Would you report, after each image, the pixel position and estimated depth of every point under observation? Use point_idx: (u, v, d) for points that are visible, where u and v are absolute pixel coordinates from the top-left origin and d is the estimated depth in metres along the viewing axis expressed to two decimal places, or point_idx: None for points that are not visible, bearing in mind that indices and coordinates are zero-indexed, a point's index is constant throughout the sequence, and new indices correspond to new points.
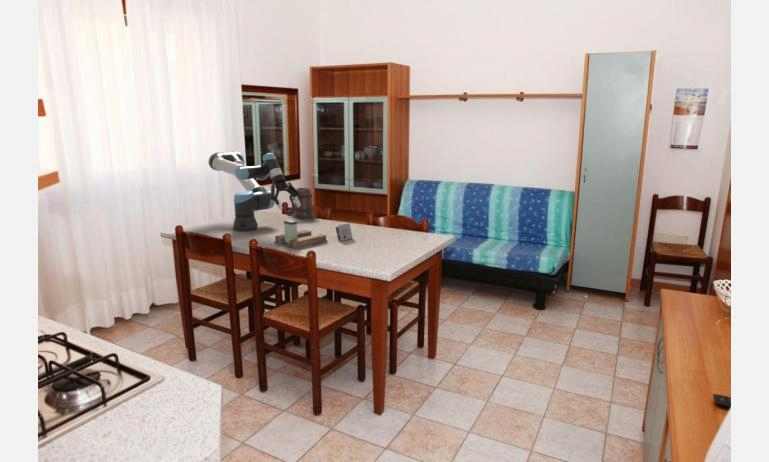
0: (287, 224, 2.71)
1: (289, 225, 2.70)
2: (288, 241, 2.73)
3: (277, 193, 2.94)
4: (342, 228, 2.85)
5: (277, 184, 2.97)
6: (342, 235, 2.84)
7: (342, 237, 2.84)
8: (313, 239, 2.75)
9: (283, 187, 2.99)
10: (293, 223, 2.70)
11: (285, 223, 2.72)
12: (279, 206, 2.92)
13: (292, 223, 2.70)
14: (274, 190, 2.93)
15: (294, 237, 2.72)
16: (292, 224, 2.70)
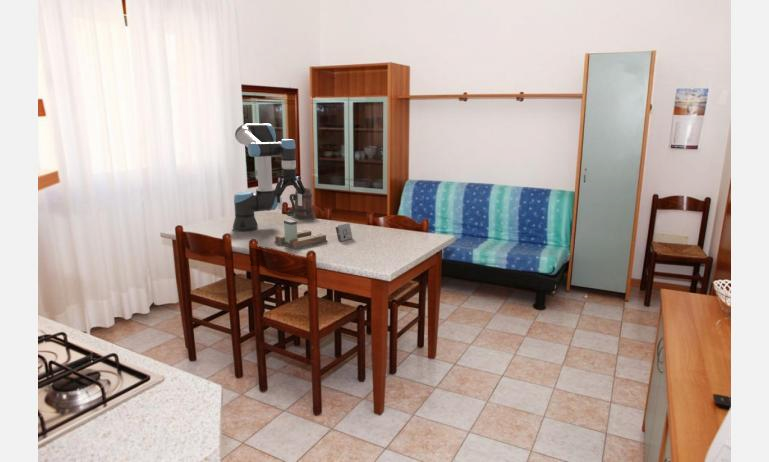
0: (287, 224, 2.71)
1: (289, 225, 2.70)
2: (288, 241, 2.73)
3: (282, 190, 2.64)
4: (342, 228, 2.85)
5: (286, 179, 2.64)
6: (342, 235, 2.84)
7: (342, 237, 2.84)
8: (313, 239, 2.75)
9: (291, 183, 2.67)
10: (293, 223, 2.70)
11: (285, 223, 2.72)
12: (279, 205, 2.65)
13: (292, 223, 2.70)
14: (280, 186, 2.62)
15: (294, 237, 2.72)
16: (292, 224, 2.70)
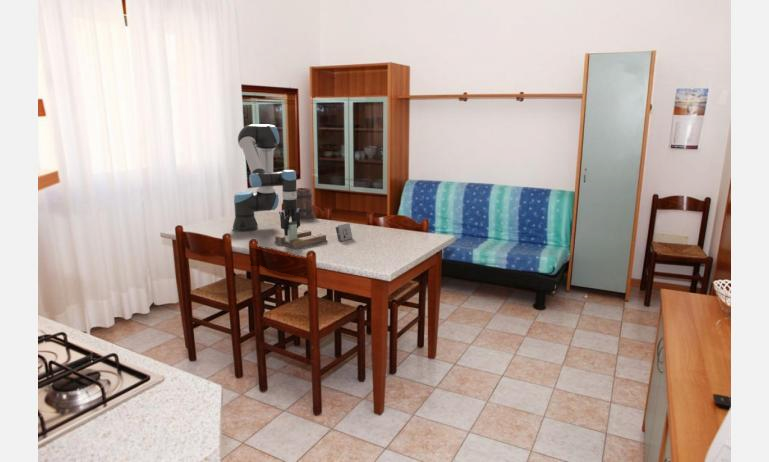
0: None
1: (289, 225, 2.70)
2: (288, 241, 2.73)
3: (287, 223, 2.70)
4: (342, 228, 2.85)
5: (286, 209, 2.68)
6: (342, 235, 2.84)
7: (342, 237, 2.84)
8: (313, 239, 2.75)
9: (291, 213, 2.71)
10: (293, 223, 2.70)
11: None
12: (286, 237, 2.72)
13: (292, 223, 2.70)
14: (284, 219, 2.68)
15: (294, 237, 2.72)
16: (292, 224, 2.70)
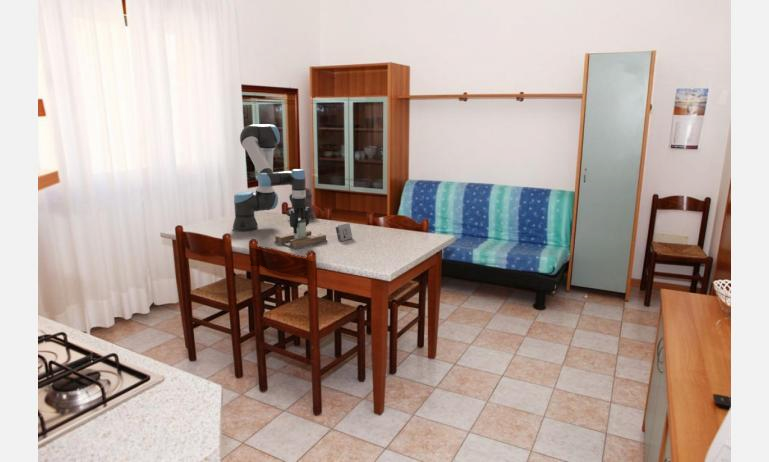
0: None
1: (298, 223, 2.75)
2: None
3: (296, 221, 2.74)
4: (342, 228, 2.85)
5: (295, 208, 2.72)
6: (342, 235, 2.84)
7: (342, 237, 2.84)
8: (313, 239, 2.75)
9: (301, 211, 2.75)
10: (302, 221, 2.75)
11: None
12: (296, 235, 2.77)
13: (301, 221, 2.74)
14: (293, 217, 2.72)
15: (303, 235, 2.77)
16: (301, 222, 2.74)
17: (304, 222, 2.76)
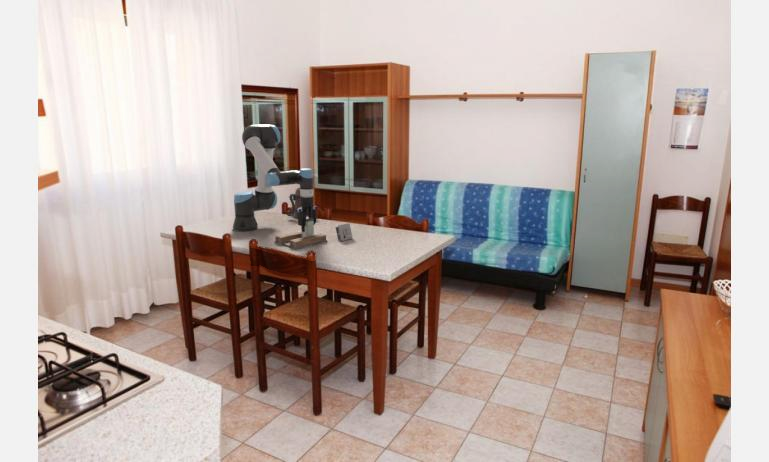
0: None
1: (306, 222, 2.79)
2: None
3: (304, 219, 2.78)
4: (342, 228, 2.85)
5: (304, 206, 2.76)
6: (342, 235, 2.84)
7: (342, 237, 2.84)
8: (313, 239, 2.75)
9: (308, 210, 2.79)
10: (310, 220, 2.79)
11: None
12: (303, 234, 2.81)
13: (309, 220, 2.78)
14: (302, 216, 2.76)
15: (311, 233, 2.81)
16: (309, 221, 2.78)
17: (312, 220, 2.80)
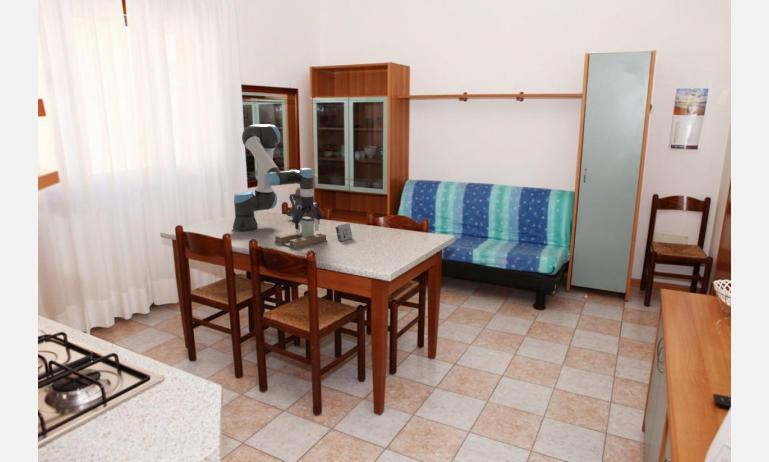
0: (304, 221, 2.80)
1: (306, 222, 2.79)
2: None
3: (300, 217, 2.76)
4: (342, 228, 2.85)
5: (304, 206, 2.76)
6: (342, 235, 2.84)
7: (342, 237, 2.84)
8: (313, 239, 2.75)
9: (308, 209, 2.79)
10: (310, 220, 2.79)
11: (302, 220, 2.81)
12: (297, 231, 2.77)
13: (309, 220, 2.78)
14: (298, 214, 2.74)
15: (311, 233, 2.81)
16: (309, 221, 2.78)
17: (312, 220, 2.80)
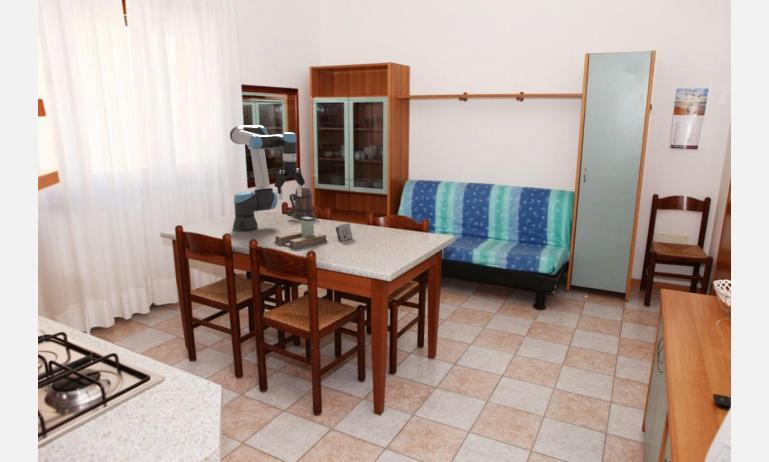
0: (304, 221, 2.80)
1: (306, 222, 2.79)
2: None
3: (283, 182, 2.76)
4: (342, 228, 2.85)
5: (286, 171, 2.76)
6: (342, 235, 2.84)
7: (342, 237, 2.84)
8: (313, 239, 2.75)
9: (291, 174, 2.79)
10: (310, 220, 2.79)
11: (302, 220, 2.81)
12: (280, 196, 2.78)
13: (309, 220, 2.78)
14: (281, 178, 2.74)
15: (311, 233, 2.81)
16: (309, 221, 2.78)
17: (312, 220, 2.80)
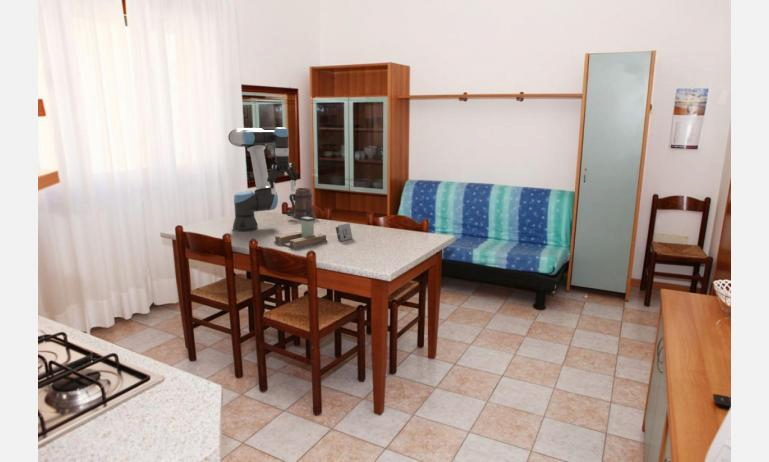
0: (304, 221, 2.80)
1: (306, 222, 2.79)
2: None
3: (275, 176, 2.77)
4: (342, 228, 2.85)
5: (279, 165, 2.77)
6: (342, 235, 2.84)
7: (342, 237, 2.84)
8: (313, 239, 2.75)
9: (284, 169, 2.80)
10: (310, 220, 2.79)
11: (302, 220, 2.81)
12: (272, 190, 2.78)
13: (309, 220, 2.78)
14: (273, 173, 2.75)
15: (311, 233, 2.81)
16: (309, 221, 2.78)
17: (312, 220, 2.80)
